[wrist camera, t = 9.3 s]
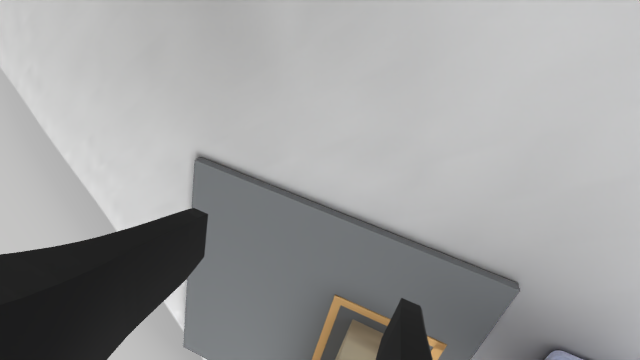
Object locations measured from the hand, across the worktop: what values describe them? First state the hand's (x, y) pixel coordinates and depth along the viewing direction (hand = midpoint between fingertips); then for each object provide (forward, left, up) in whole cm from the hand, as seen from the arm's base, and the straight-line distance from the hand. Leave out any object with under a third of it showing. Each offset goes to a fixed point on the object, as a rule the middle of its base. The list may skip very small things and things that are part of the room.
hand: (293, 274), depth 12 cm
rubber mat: (0, +13, -9) cm, 16 cm away
